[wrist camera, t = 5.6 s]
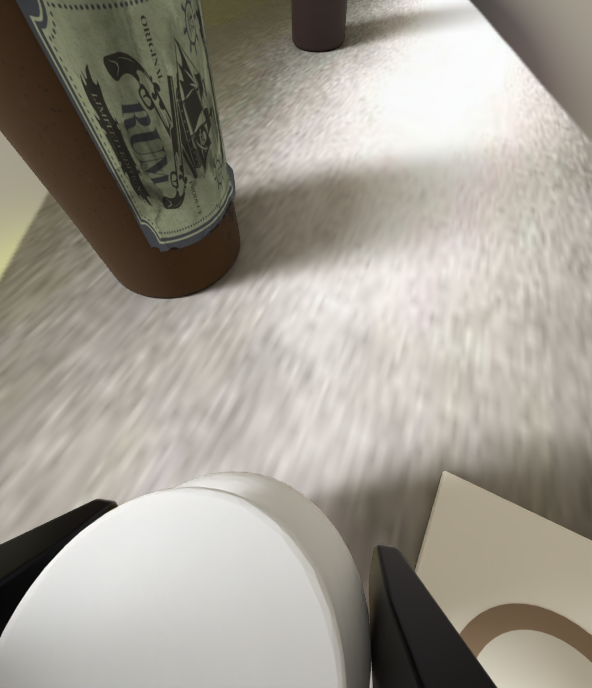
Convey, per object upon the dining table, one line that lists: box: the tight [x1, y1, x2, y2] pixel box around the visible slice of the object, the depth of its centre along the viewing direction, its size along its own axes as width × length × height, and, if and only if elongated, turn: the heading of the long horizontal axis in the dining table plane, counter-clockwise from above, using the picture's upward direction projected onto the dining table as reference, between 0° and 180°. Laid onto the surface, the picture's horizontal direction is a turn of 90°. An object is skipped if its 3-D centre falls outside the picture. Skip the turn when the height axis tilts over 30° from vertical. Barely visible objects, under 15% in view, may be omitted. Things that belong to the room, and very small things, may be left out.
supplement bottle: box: [0, 472, 371, 688], centre depth 8 cm, size 5×5×10 cm
